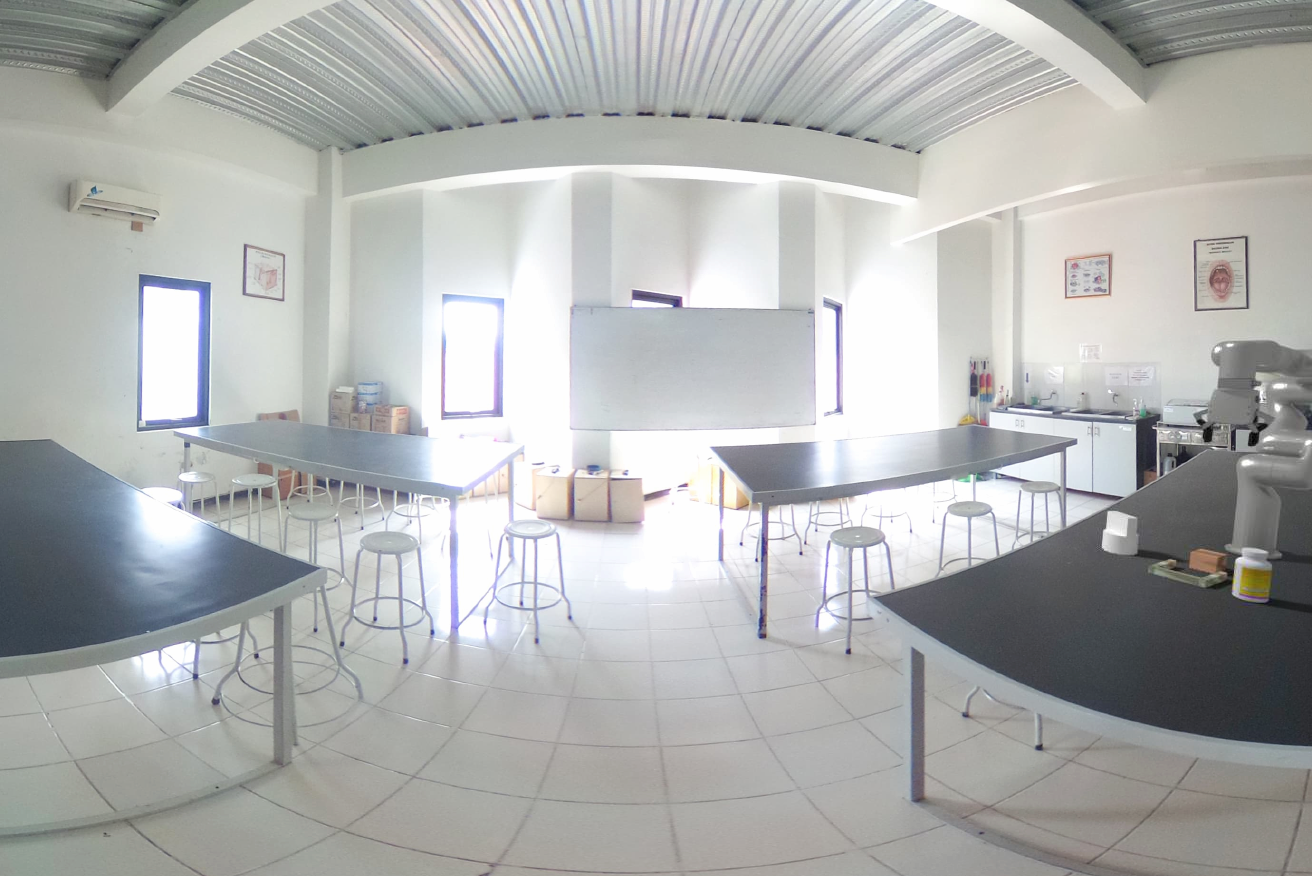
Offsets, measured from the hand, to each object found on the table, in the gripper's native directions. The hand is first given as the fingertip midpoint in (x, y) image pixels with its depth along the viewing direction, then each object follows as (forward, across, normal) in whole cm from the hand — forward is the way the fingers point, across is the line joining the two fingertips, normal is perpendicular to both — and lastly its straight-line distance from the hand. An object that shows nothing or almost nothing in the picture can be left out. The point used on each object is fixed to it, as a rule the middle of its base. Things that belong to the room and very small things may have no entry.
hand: (1229, 444), depth 167 cm
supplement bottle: (+37, -15, +22) cm, 46 cm away
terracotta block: (+37, 0, +5) cm, 37 cm away
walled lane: (+37, 0, +17) cm, 40 cm away
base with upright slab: (+37, +21, +8) cm, 43 cm away
